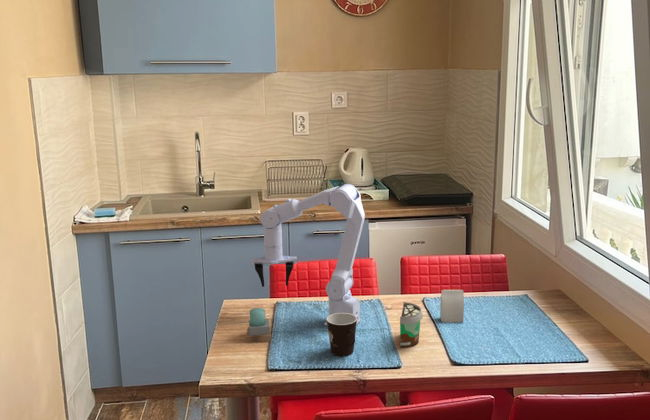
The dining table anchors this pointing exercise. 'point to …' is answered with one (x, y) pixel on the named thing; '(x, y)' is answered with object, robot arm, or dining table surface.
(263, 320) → the green rounded cylinder
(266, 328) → the top block
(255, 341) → the base block
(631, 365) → the dining table surface
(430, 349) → the dining table surface
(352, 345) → the coffee mug
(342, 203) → the robot arm
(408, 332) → the food container
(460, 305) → the grey rectangular block
